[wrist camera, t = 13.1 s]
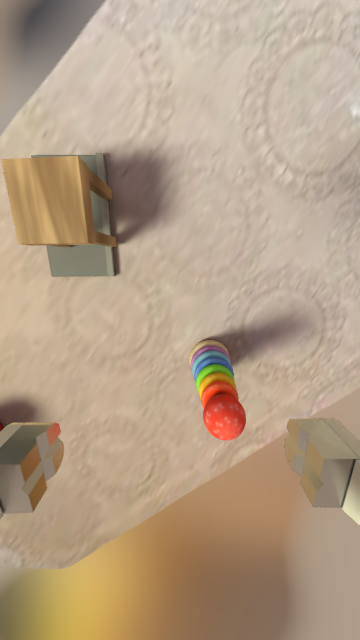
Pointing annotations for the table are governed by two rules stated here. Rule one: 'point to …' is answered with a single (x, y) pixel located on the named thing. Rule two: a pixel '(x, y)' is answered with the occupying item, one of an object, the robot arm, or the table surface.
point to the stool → (54, 201)
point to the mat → (94, 256)
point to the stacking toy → (217, 389)
